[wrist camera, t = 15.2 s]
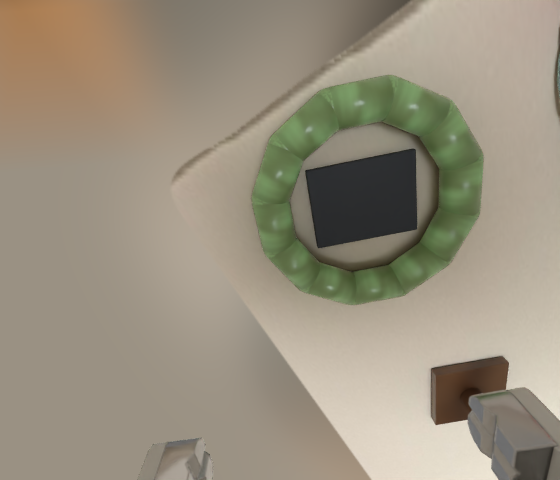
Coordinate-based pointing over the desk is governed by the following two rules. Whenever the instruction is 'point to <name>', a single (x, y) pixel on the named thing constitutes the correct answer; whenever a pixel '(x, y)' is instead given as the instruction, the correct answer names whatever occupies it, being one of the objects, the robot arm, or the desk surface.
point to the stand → (464, 387)
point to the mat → (363, 198)
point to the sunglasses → (559, 78)
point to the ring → (351, 113)
